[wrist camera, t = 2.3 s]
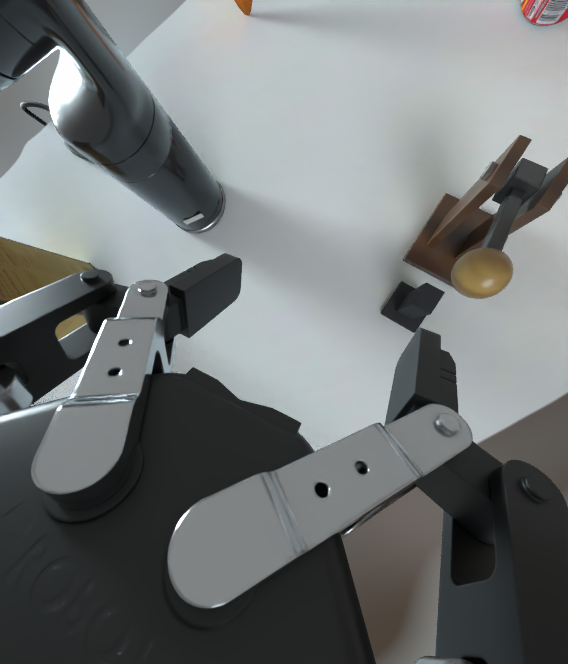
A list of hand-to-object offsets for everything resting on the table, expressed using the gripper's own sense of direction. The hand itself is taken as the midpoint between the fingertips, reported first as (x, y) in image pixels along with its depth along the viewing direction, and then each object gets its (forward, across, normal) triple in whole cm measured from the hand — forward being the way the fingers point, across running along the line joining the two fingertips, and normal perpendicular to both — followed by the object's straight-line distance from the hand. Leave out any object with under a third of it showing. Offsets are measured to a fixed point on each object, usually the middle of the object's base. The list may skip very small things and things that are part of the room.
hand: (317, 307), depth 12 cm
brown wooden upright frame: (+33, -9, +5) cm, 35 cm away
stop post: (+27, -7, +13) cm, 30 cm away
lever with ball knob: (+18, -9, 0) cm, 20 cm away
